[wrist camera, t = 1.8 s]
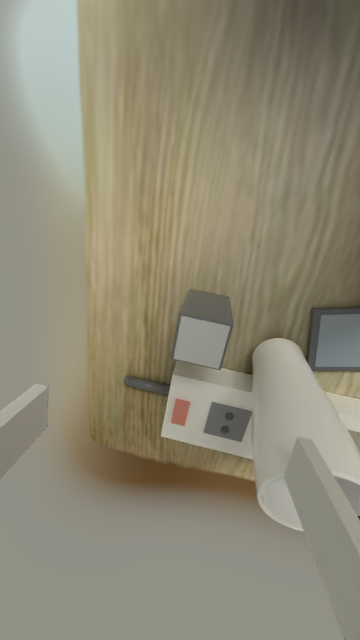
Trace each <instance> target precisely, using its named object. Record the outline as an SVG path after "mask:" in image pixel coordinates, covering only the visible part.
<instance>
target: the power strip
mask: <svg viewBox="0 0 360 640" xmlns="http://www.w3.org/2000/svg"><path fill="white" fill-rule="evenodd" d="M124 384H125V385H126V386H130V387H134V388H139V389H143V390H147V391H151V392H155V393H159V394H163V395H168V401H167V406H166V411H165V416H164V421H163V426H162V432H161V437H165V438H169V439H173V440H177V441H181V442H185V443H189V444H193V445H197V446H201V447H205V448H209V449H213V450H217V451H221V452H225V453H229V454H233V455H236V456H240V457H244V458H248V459H252V460H253V457H252V389H253V375H251V374H247V373H242V372H238V371H233V370H229V369H225V368H221V370H217V369H212V368H208V367H204V366H199V365H195V364H190V363H186V362H182V361H177V362H176V365H175V368H174V371H173V375H172V380H171V385H170V386H168V385H165V384H160V383H156V382H152V381H148V380H143V379H139V378H135V377H131V376H127V377H125V379H124ZM325 393H326V394H327V396H328V398H329V399H330V401H331V403H332V404H333V406H334V408H335V409H336V411H337V413H338V414H339V416H340V418H341V419H342V421H343V423H344V424H345V426H346V428H347V430H348V431H349V433H350V435H351V437H352V439H353V441H354V443H355V445H356V447H357V449H358V451H359V453H360V399H356V398H351V397H347V396H343V395H338V394H334V393H330V392H325Z"/></svg>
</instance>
